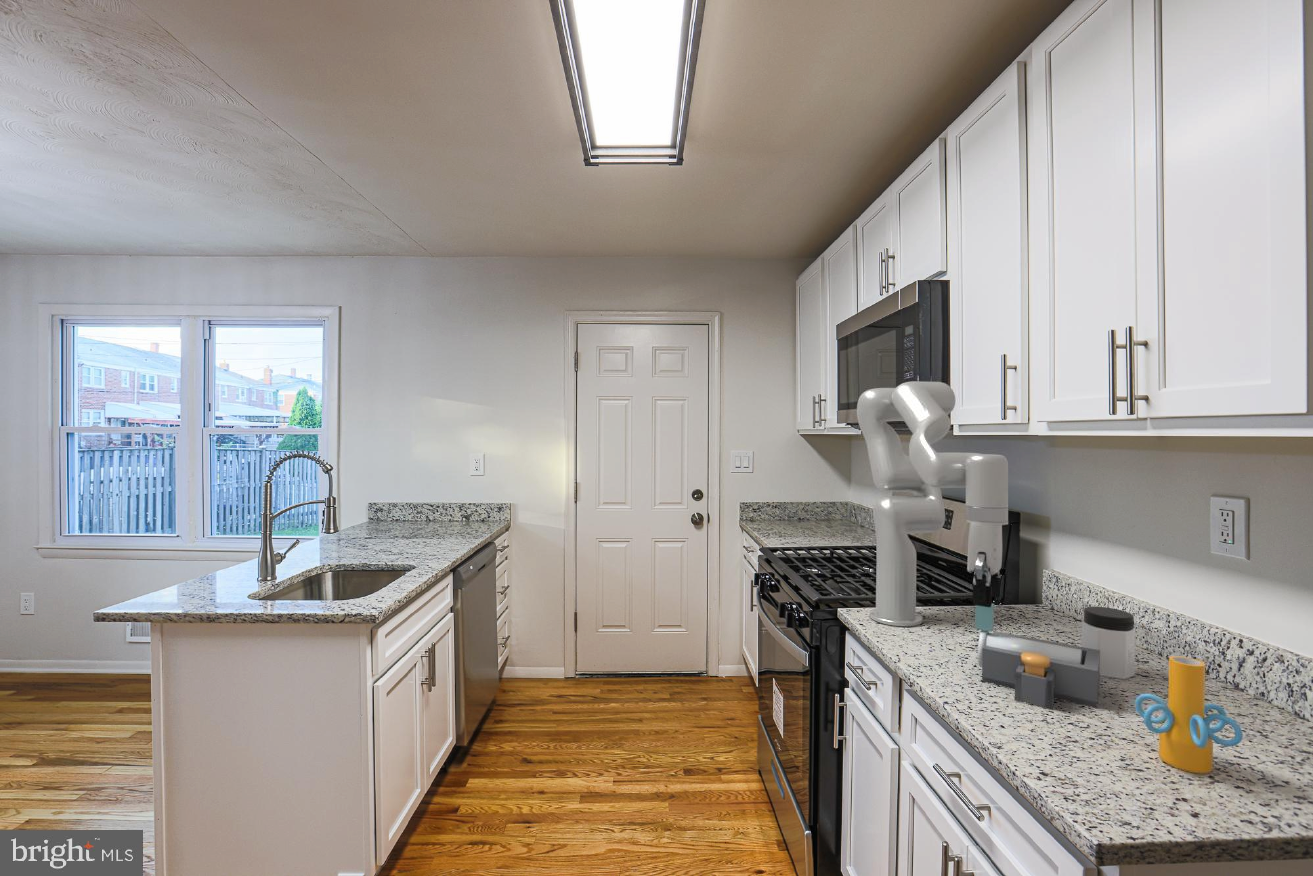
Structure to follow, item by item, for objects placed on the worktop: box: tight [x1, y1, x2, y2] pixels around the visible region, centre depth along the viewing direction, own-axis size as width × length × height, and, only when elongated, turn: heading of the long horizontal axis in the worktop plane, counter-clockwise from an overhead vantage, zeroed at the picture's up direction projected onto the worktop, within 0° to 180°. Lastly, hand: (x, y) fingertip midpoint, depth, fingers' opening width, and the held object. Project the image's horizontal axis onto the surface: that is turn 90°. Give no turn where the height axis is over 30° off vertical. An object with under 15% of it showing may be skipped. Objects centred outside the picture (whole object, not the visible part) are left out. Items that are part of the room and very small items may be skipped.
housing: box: [981, 630, 1101, 710], centre depth 116 cm, size 19×18×6 cm
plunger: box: [1021, 652, 1050, 677], centre depth 111 cm, size 4×4×7 cm
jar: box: [1080, 606, 1137, 681], centre depth 125 cm, size 9×8×12 cm
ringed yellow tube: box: [1134, 655, 1244, 774], centre depth 90 cm, size 12×10×15 cm
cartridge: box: [974, 603, 1082, 668], centre depth 120 cm, size 7×18×13 cm, turn 52°
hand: (986, 601), depth 124 cm, fingers open, 9 cm apart
